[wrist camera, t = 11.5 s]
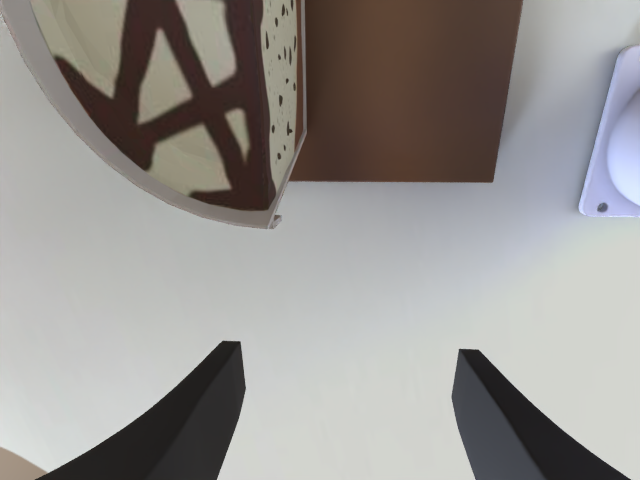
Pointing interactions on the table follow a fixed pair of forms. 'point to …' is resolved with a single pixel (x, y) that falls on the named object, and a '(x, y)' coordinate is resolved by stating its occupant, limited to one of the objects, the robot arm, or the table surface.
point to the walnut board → (406, 89)
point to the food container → (178, 93)
